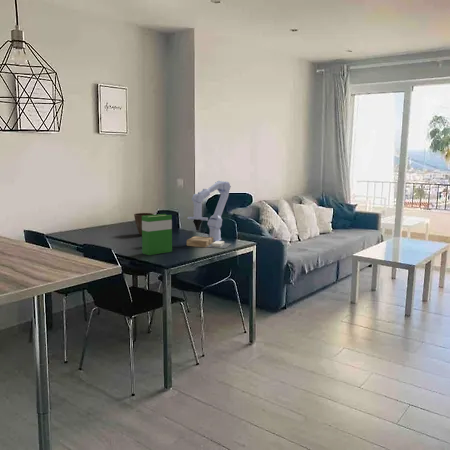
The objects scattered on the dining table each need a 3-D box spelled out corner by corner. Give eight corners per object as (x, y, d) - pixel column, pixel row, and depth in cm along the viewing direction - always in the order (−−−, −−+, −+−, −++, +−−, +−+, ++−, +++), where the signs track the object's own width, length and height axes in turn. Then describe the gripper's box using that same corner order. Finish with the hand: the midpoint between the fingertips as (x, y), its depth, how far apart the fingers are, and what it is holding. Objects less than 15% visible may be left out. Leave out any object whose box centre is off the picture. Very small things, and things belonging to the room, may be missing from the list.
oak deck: (194, 241, 341) (194, 236, 341) (213, 242, 337) (213, 237, 337) (186, 245, 326) (186, 240, 326) (205, 247, 322) (205, 241, 322)
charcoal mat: (213, 243, 337) (213, 242, 337) (231, 244, 334) (231, 243, 334) (206, 247, 322) (206, 246, 322) (224, 248, 318) (224, 247, 318)
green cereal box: (165, 249, 313) (165, 213, 309) (172, 251, 307) (171, 214, 304) (142, 253, 302) (141, 215, 298) (148, 255, 296) (147, 217, 292)
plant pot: (155, 235, 364) (155, 215, 361) (136, 236, 358) (136, 215, 356) (151, 232, 378) (151, 212, 375) (132, 233, 372) (132, 213, 370)
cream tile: (224, 241, 331) (224, 244, 331) (216, 240, 332) (216, 243, 333) (220, 243, 322) (220, 246, 322) (212, 243, 324) (212, 246, 324)
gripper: (185, 211, 330) (185, 230, 332) (205, 212, 326) (205, 231, 328) (189, 210, 337) (189, 228, 339) (208, 211, 333) (208, 230, 335)
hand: (197, 230), depth 334 cm, fingers closed
